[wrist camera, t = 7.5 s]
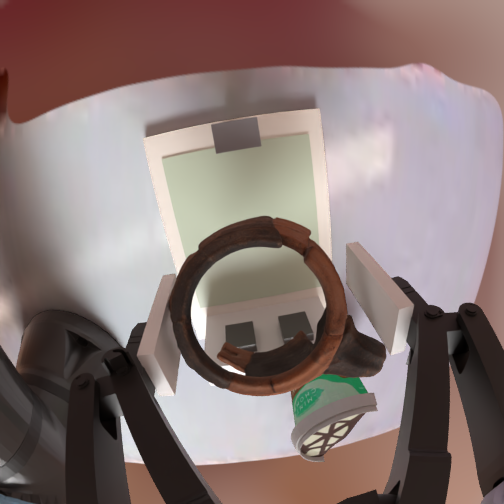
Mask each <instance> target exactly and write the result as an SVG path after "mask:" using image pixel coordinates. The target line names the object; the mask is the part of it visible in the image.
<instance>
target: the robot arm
mask: <svg viewBox="0 0 504 504" xmlns="http://www.w3.org/2000/svg"><path fill="white" fill-rule="evenodd" d="M175 281H176V275H175V274H170V275H164V276H163V277H162V279H161V282H160V285H159V288H158V291H157V294H156V297H155V300H154V303H153V306H152V309H151V312H150V315H149V318H148V321H147V322H145V323H138V324H137V325H136V326H135V327H134V328H133V330H132V332H131V335H130V338H129V340H128V344H127V346H126V348H123V347H120V346H119V344H118V343H117V342H116V341H115V340H114V339H113V338H112V337H111V336H110V335H109V334H108V333H106V332H105V331H104V330H103V329H101V328H100V327H98V326H97V325H95V324H94V323H92V322H90V321H89V320H87V319H85V318H83V317H80V316H78V315H75V314H73V313H69V312H65V311H59V310H49V311H44V312H41V313H39V314H37V315H36V316H35V317H34V318H33V319H32V320H31V322H30V323H29V324H28V326H27V327H26V329H25V331H24V333H23V335H22V340H21V347H20V351H19V355H18V360H17V365H16V368H15V367H14V365H13V364H12V362H11V361H10V359H9V358H8V356H7V355H6V353H5V352H4V350H3V349H2V347H1V346H0V504H131V501H130V495H129V489H128V483H127V477H126V469H125V462H124V454H123V445H122V434H121V422H120V416H123V415H124V417H125V420H126V423H127V425H128V427H129V430H130V432H131V435H132V437H133V439H134V441H135V444H136V446H137V448H138V450H139V453H140V455H141V457H142V459H143V461H144V463H145V465H146V467H147V469H148V471H149V473H150V475H151V477H152V479H153V481H154V483H155V485H156V487H157V489H158V490H159V492H160V494H161V496H162V497H163V499H164V501H165V503H166V504H222V503H221V501H220V500H219V499H218V497H217V496H216V495H215V493H214V492H213V491H212V489H211V488H210V486H209V485H208V484H207V482H206V481H205V479H204V478H203V476H202V475H201V474H200V472H199V471H198V469H197V468H196V466H195V464H194V463H193V461H192V460H191V458H190V457H189V455H188V454H187V452H186V451H185V449H184V447H183V446H182V444H181V442H180V441H179V439H178V437H177V436H176V434H175V432H174V431H173V429H172V427H171V426H170V424H169V422H168V420H167V419H166V417H165V415H164V413H163V411H162V410H161V408H160V406H159V404H158V402H157V400H156V399H155V397H154V393H155V389H156V391H157V393H158V394H159V396H172V395H175V391H176V384H177V376H178V369H179V362H180V355H181V351H180V350H179V348H178V347H177V341H176V339H175V335H174V332H173V327H172V326H173V323H172V321H171V318H170V314H171V313H170V308H169V297H170V295H171V292H172V289H173V286H174V284H175ZM346 284H347V285H348V287H349V288H350V290H351V291H352V293H353V295H354V296H355V298H356V299H357V301H358V302H359V304H360V306H361V307H362V309H363V310H364V312H365V314H366V315H367V317H368V318H369V320H370V322H371V323H372V325H373V327H374V328H375V330H376V332H377V333H378V335H379V336H380V338H381V340H382V341H383V343H384V345H385V347H386V348H387V350H388V352H389V353H390V355H393V354H397V353H400V352H403V351H405V347H406V343H408V344H409V346H410V347H411V348H410V352H409V356H408V359H407V363H406V365H408V372H407V382H406V391H405V399H404V406H403V413H402V419H401V425H400V431H399V436H398V442H397V447H396V451H395V457H394V460H393V465H392V469H391V473H390V477H389V480H388V482H387V485H386V487H385V490H384V492H383V494H377V491H376V490H373V491H370V492H367V493H364V494H361V495H357V496H354V497H350V498H347V499H345V500H343V501H341V502H339V503H337V504H445V501H446V496H447V490H448V484H449V477H450V470H451V454H450V453H448V451H447V443H448V430H449V408H450V403H449V402H450V378H449V377H450V376H449V362H450V365H451V368H452V371H453V374H454V377H455V380H456V384H457V387H458V390H459V393H460V397H461V401H462V404H463V408H464V412H465V415H466V420H467V424H468V428H469V432H470V437H471V441H472V446H473V451H474V457H475V462H476V468H477V475H478V480H479V484H480V488H481V491H482V494H483V497H484V499H483V500H482V502H481V504H504V350H503V348H502V346H501V344H500V342H499V340H498V338H497V336H496V334H495V332H494V330H493V328H492V327H491V325H490V323H489V321H488V320H487V318H486V316H485V314H484V312H483V311H482V309H481V308H480V307H479V306H477V305H475V304H473V303H464V304H462V305H461V306H460V307H459V310H458V312H454V313H444V311H443V310H442V309H441V308H439V307H437V306H434V305H428V304H427V303H426V302H425V301H424V299H423V298H422V297H421V296H420V295H419V294H418V293H417V292H415V290H414V288H413V287H411V285H410V284H409V283H408V282H407V281H406V280H404V279H402V278H401V277H399V276H398V277H394V278H391V277H390V276H389V275H388V274H387V273H386V272H385V271H384V270H383V268H382V267H381V266H380V265H379V264H378V263H377V262H376V261H375V260H374V259H373V257H372V256H371V255H370V254H369V253H368V252H367V251H366V250H365V249H364V248H363V247H362V246H361V245H360V243H359V242H354V243H348V244H346Z"/></svg>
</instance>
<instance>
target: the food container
mask: <svg viewBox="0 0 504 504" xmlns="http://www.w3.org/2000/svg"><path fill="white" fill-rule="evenodd" d="M291 397H292V404H293V412H294V420H295V428H294V429H293V431H292V434H291V440H292V443H293V445H294V447H295V449H296V451H297V452H298V453H299V454H300V455H301V457H302V458H304V459H306V460H309V461H313V462H324V457H323V455H324V454H325V453H326V452H327V451H328V450H329V449H330V448H331V447H332V446H334V445H335V444H336V443H338V442H340V441H341V440H342V439H344V438H345V437H346V436H347V435H348V434H349V433H350V431H351V430H352V429H353V427H354V426H355V425H356V423H357V422H358V421H359V420H360V419H361V417H362V416H363V415H364V414H365V413H366V412H373V411H378V410H377V408H376V405H377V403H376V399H375V395H374V393H368V392H367V390H366V388H365V387H364V385H363V383H362V382H361V380H360V378H359V377H357V378H350V377H345V376H339V375H331V374H327V375H325V374H322V375H321V376H319V377H317V378H315V379H314V380H312V381H310V382H308V383H307V384H304V385H303V386H301V387H300V388H298V389H295V390H292V391H291Z"/></svg>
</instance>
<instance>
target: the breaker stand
mask: <svg viewBox="0 0 504 504" xmlns="http://www.w3.org/2000/svg"><path fill="white" fill-rule="evenodd" d="M252 117H257V120H258V127H259V133H260V139H261V146H260V147H253V148H247V149H241V150H235V151H229V152H224V153H218V154H216V150H215V145H214V139H213V134H212V128H211V124H216V123H221V122H227V121H231V120H239V119H245V118H252ZM143 142H144V147H145V152H146V156H147V161H148V165H149V170H150V174H151V178H152V182H153V187H154V191H155V195H156V199H157V203H158V207H159V210H160V214H161V218H162V222H163V226H164V229H165V233H166V237H167V240H168V244H169V247H170V251H171V254H172V258H173V261H174V264H175V268H176V271H177V274H179V271H180V269H181V267H182V265H183V264H184V262H185V260H186V258H187V257H188V256H189V255H190V254H193V253H195V252H196V251H197V250H199V249H198V245H199V244H200V242H202V241H203V240H204V239H205V238H207V237H208V236H210V235H211V234H213V233H214V232H216V231H217V230H220V229H221V228H223V227H226V226H228V225H230V224H233V223H236V222H239V221H243V220H246V219H250V218H254V217H259V216H270V217H272V218H273V219H275V218H276V217H278V218H282V219H286V220H290V221H293V222H295V223H297V224H300V225H302V226H304V227H306V228H308V229H309V230H311V235H310V236H309V238H310V239H311V240H313V241H315V242H316V243H317V244H318V245H319V246H320V247H321V248H322V249H323V251H324V252H325V253H326V254H327V255H328V257H329V258H330V260H331V261H332V246H331V225H330V209H329V195H328V182H327V171H326V160H325V150H324V141H323V132H322V124H321V116H320V109H306V110H295V111H286V112H277V113H269V114H261V115H254V116H247V117H241V118H235V119H229V120H223V121H217V122H212V123H207V124H202V125H197V126H192V127H188V128H183V129H179V130H174V131H170V132H166V133H162V134H158V135H154V136H150V137H146V138H143ZM325 308H326V301H325V296H324V293H323V290H322V287H321V285H320V283H319V281H318V279H317V278H316V276H315V275H314V273H313V272H312V271H311V270H310V269H309V267H308V266H307V265H306V264H305V263H304V257H303V256H302V255H300V254H299V253H298V252H296V251H295V250H293V249H291V248H288V247H286V246H284V245H282V247H281V248H268V247H253V248H246V249H242V250H239V251H236V252H233V253H231V254H229V255H227V256H225V257H224V258H222V259H221V260H219V261H217V262H216V263H215V264H214V265H213V266H212V267H211V268H210V269H208V271H207V272H206V273H205V274H204V275H203V277H202V278H201V280H200V282H199V284H198V285H197V288H196V290H195V293H194V296H193V300H192V306H191V318H192V321H193V324H194V327H195V330H196V333H197V336H198V338H199V339H205V353H206V354H207V355H208V356H209V357H210V358H211V359H212V360H213V361H214V362H215V363H217V364H218V365H219V366H221V367H223V368H224V369H226V370H228V371H230V372H235V373H238V374H242V375H245V373H243V372H240V371H238V370H236V369H234V368H233V367H231V366H229V365H227V364H225V363H223V362H221V361H220V360H219V359H217V354H218V353H219V352H220V351H221V348H222V346H223V344H224V343H225V342H226V335H225V325H231V324H237V323H243V322H249V321H253V325H254V331H255V338H256V344H257V351H256V352H267V351H270V350H273V349H276V348H278V347H281V346H283V345H284V342H283V338H282V334H281V330H280V326H279V321H278V316H282V315H288V314H293V313H298V312H303V311H305V312H306V315H307V317H308V320H309V323H310V325H311V328H312V330H313V333H314V340H312V341H311V342H312V343H313V344H314V342H315V339H316V332H317V323H318V322H319V320H320V319H321V317H322V315H323V312H324V310H325ZM209 383H210V382H209ZM212 385H214V384H212V383H210V386H212Z"/></svg>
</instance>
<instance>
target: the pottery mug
mask: <svg viewBox="0 0 504 504" xmlns="http://www.w3.org/2000/svg"><path fill="white" fill-rule="evenodd" d="M310 235H311V230H309V229H308V228H306V227H304V226H302V225H300V224H297V223H295V222H293V221H290V220H286V219H282V218H278V217H276V218H275V219H273V218H272V217H270V216H259V217H254V218H250V219H246V220H243V221H239V222H236V223H233V224H230V225H228V226H226V227H223V228H221V229H220V230H217V231H216V232H214V233H213V234H211V235H210V236H208V237H207V238H205V239H204V240H203V241H202V242H200V244H199V245H198V249H199V250H197V251H196V252H195V253H193V254H190V255H189V256H188V257H187V258H186V260H185V262H184V264H183V265H182V267H181V269H180V271H179V274H178V276H177V278H176V281H175V284H174V286H173V289H172V292H171V295H170V297H169V308H170V313H171V314H170V318H171V321H172V323H173V326H172V327H173V332H174V335H175V339H176V341H177V347H178V348H179V350H180V351H181V354H182V356H183V358H184V359H185V362H186V364H187V365H188V366H189V367H190V368H192V369H193V370H195V371H196V372H197V373H198V374H199V375H200V376H201V377H203V378H204V379H205V380H207V381H209V382H210V383H212V384H214V385H216V386H217V387H219V388H222V389H228V390H230V391H232V392H235V393H239V394H243V395H251V396H270V395H277V394H282V393H286V392H289V391H292V390H295V389H298V388H300V387H301V386H303V385H304V384H307V383H308V382H310V381H312V380H314V379H315V378H317V377H319V376H321V375H322V374H325V375H327V374H331V375H339V376H345V377H350V378H357V377H371V376H374V375H376V374H377V373H378V372H380V371H381V369H382V367H383V363H384V361H385V359H386V348H385V345H384V344H383V343H381V342H379V341H378V340H376V339H374V338H372V337H369V336H367V335H364V334H362V333H360V332H358V331H357V329H356V328H355V325H354V322H353V319H352V317H351V316H350V315H347V304H346V299H345V293H344V288H343V285H342V283H341V280H340V277H339V275H338V273H337V272H336V270H335V267H334V265H333V264H332V261H331V260H330V258H329V257H328V255H327V254H326V253H325V252H324V251H323V249H322V248H321V247H320V246H319V245H318V244H317V243H316V242H315V241H313V240H311V239H310V238H309V236H310ZM282 245H284V246H286V247H288V248H291V249H293V250H295V251H296V252H298V253H299V254H300V255H302V256H303V257H304V263H305V264H306V265H307V266H308V267H309V269H310V270H311V271H312V272H313V273H314V275H315V276H316V278H317V279H318V281H319V283H320V285H321V287H322V290H323V293H324V296H325V301H326V308H325V310H324V312H323V315H322V317H321V319H320V320H319V322H318V323H317V332H316V339H315V342H314V344H313V343H312V342H311V340H310V339H308V338H307V336H306V334H305V333H304V332H303V331H299V332H298V333H297V334H296V335H295V336H294V337H293V339H291V340H290V341H289V342H287V343H286V344H284V345H283V346H281V347H278V348H276V349H273V350H270V351H267V352H251V351H247V350H243V349H240V348H237V347H235V346H233V345H231V344H230V343H228V342H225V343H224V344H223V346H222V348H221V351H220V352H219V353H218V354H217V359H219V360H220V361H221V362H223V363H225V364H227V365H229V366H231V367H233V368H234V369H236V370H238V371H240V372H243V373H245V375H242V374H238V373H235V372H230V371H228V370H226V369H224V368H223V367H221V366H219V365H218V364H217V363H215V362H214V361H213V360H212V359H211V358H210V357H209V356H208V355H207V354H206V353H205V352H204V350H203V349H202V348H201V346H200V344H199V342H198V340H197V339H196V336H195V334H194V331H193V327H192V324H191V306H192V300H193V296H194V293H195V290H196V288H197V285H198V284H199V282H200V280H201V278H202V277H203V275H204V274H205V273H206V272H207V271H208V269H210V268H211V267H212V266H213V265H214V264H215V263H216V262H217V261H219V260H221V259H222V258H224V257H225V256H227V255H229V254H231V253H233V252H236V251H239V250H242V249H246V248H253V247H268V248H281V247H282Z"/></svg>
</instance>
